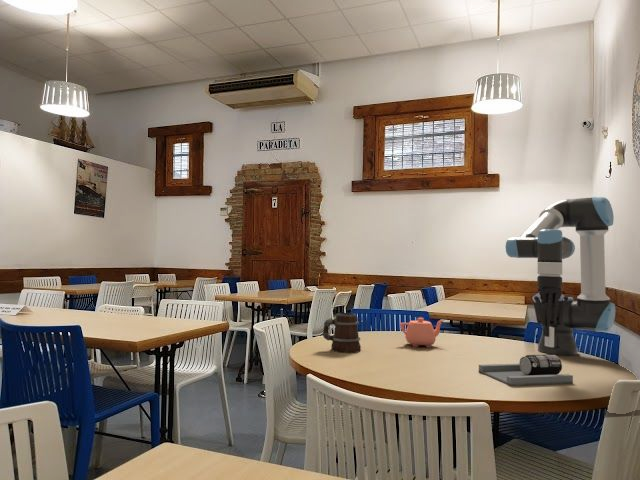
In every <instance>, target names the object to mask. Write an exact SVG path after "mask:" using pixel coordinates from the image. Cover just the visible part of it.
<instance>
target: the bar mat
mask: <svg viewBox="0 0 640 480" xmlns="http://www.w3.org/2000/svg"><path fill="white" fill-rule="evenodd" d="M478 372H479V373H481V374H483V375H485V376H487V377H490V378H492V379H493V380H494V379H495V380H497V381H499V382H501V383H504V384H506V385H507V386H510V387H513V386H514V387H516V386H539V385H540V386H541V385H543V386H544V385H566V384H567V385H568V384H573V383H574V375H572V374H570V373H567V374H566V373H564V374H563V373H561V374H560V373H559V374H557V375H530V376H529V375H526V374H524V373H523V372H522V371H521V369H520V365H519V363H498V364H496V363H494V364H493V363H491V364H488V363H487V364H478Z"/></svg>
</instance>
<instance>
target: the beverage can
mask: <svg viewBox="0 0 640 480" xmlns="http://www.w3.org/2000/svg"><path fill="white" fill-rule="evenodd" d="M518 364H519V365H520V369H521V371H522V372H523V373H524V374H526V375H529V376H530V375H559V374H560V373H561V371H562V369H563V363H562V361H561V358H559V356H557V354H550V353H548V354H527V355H524V356H522V357H520V359H519V362H518Z"/></svg>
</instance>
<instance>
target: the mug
mask: <svg viewBox="0 0 640 480" xmlns="http://www.w3.org/2000/svg"><path fill="white" fill-rule="evenodd" d="M335 316H336V317H335V318H334V319H333V318H328V319H326V320H325V321H324V323H323V325H324V326H323V331H322V332H321V333H322V336H323V338H324V339H325V340H327V341H332V342H331V350H332V352H336V351H337V352H336V353H344V352H346V353H347V354H350V353H351V352H352V353H358V352H360V351H362V350H361V347H362V346H361V343H360V341H361V337H359V329H358V325H359V324H360V321H359V320H358V318H357V317H358V316H357V314H356V313H354V312H338V313H336V315H335ZM332 325H333V326H334V332H333V334H332V335H331V334H330V333H329V329H330V328H329V327H331V326H332Z"/></svg>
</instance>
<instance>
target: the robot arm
mask: <svg viewBox="0 0 640 480" xmlns="http://www.w3.org/2000/svg"><path fill="white" fill-rule="evenodd" d="M614 218H615V217H614V211H613V206H612V204H611V203H610V200H609V199H608V198H607V197H604V196H603V197H600V196H598V197H596V196H593V197H585V198H584V197H580V198H568V199H567V198H565V199H562V200H559V201H557V202H555V203H552V204H550V205H549V206H547V207H546V208H544V209H543V210H542V211H541V212H540V213H539V216H538V218H537V220H536V221H534V222H533V223H532V224H531V225H530V226H529V227H528V228H527V229H526V230H525V231H524V232H523V233H522V234H521V235H520V236H518V237H516V236H514V237H509V238H508V239H507V240H506V242H505V252H506V255H507V257H509V258H517V259H525V258H526V259H534V258H535V259H537V274H538V276H537V281H536V282H537V283H536V284H537V287H538V289H537V291H536V294H535V295H531V296H530V299H531V301H532V303H533V307H534V313H535V316H536V322H537V323H536V324H537V325H540V326H542V334H541V336H540V339H539V342H538V343H537V345H538V346H537V351H539V352H542V353H546V354H554V355H561V356H576V355H578V350H579V349H578V346H577V343H576V340H575V336H574V330H582V331H583V330H585V331H592V332H596V333H598V332H599V333H600V332H601V333H607V332H609V331H611V329H612V327H613V325H614V321H615V317H616V305H615V304H614V303H612V302H611V298H610V297H609V296H608V295H607V294H606V263H605V260H606V259H605V257H606V256H605V254H606V253H605V251H606V250H605V235H606V233H608V232H609V227H611V226H613V225H614ZM560 228H575V232H576V233H577V234H578V235H579V249H580V250H579V251H580V252H579V253H580V254H579V255H580V257H579V258H580V259H579V260H580V294H579V295H577V297H576V299H577V300H574V297H572V296H566V295H564V294H563V292H562V287H563V277H562V275H563V260H565V259H568V258H570V257H571V256H573V254H574V253H575V250H576V247H575V246H576V245H575V244H574V242H573V240H572V239H570V238H568V237H566V236H563V231H562V230H561V229H560Z"/></svg>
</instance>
